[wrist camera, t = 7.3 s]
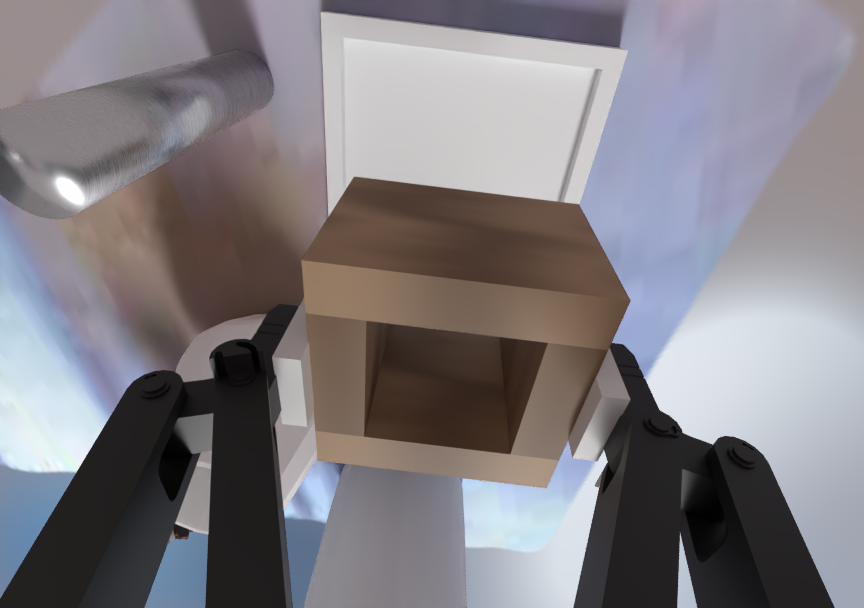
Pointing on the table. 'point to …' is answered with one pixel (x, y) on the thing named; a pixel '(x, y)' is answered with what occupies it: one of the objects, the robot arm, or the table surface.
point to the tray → (462, 107)
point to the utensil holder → (392, 542)
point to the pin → (121, 130)
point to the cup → (291, 439)
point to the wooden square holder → (455, 329)
